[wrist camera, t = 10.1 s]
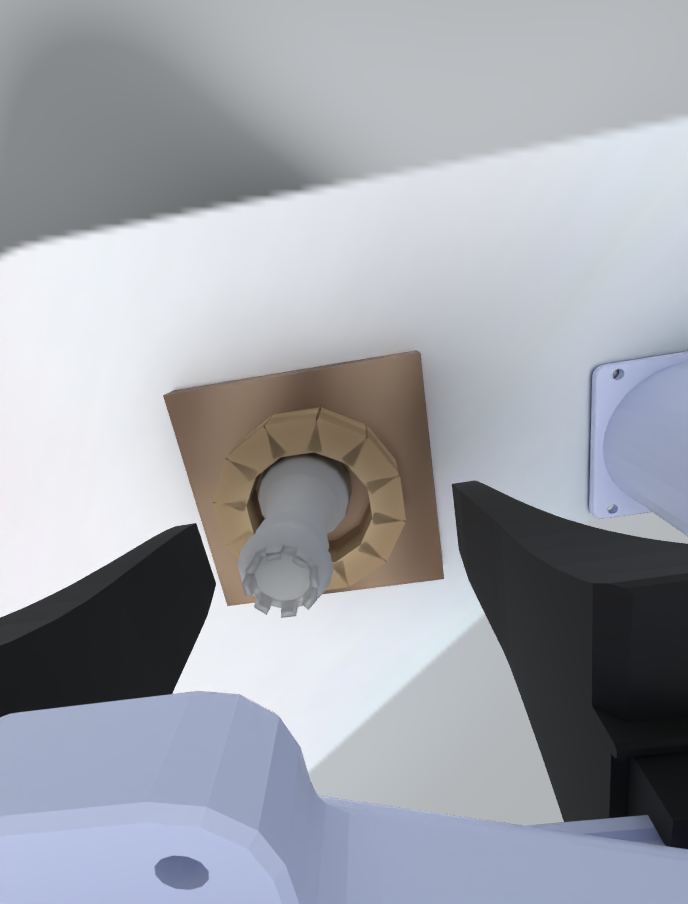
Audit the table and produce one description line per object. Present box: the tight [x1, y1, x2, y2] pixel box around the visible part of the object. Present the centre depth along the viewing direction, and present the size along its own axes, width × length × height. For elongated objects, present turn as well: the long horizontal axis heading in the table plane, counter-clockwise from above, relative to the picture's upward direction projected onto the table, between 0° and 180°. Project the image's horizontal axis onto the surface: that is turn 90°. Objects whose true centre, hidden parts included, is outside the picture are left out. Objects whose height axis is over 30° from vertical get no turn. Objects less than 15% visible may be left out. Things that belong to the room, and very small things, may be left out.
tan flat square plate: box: [163, 351, 444, 606], centre depth 21 cm, size 12×12×3 cm
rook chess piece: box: [238, 452, 352, 618], centre depth 17 cm, size 4×4×8 cm
